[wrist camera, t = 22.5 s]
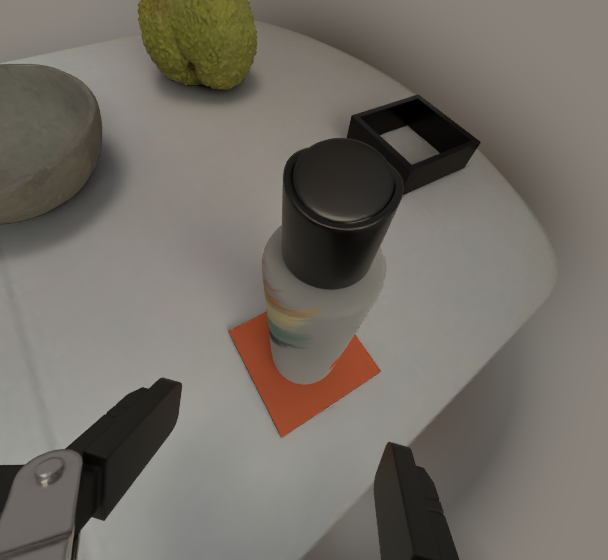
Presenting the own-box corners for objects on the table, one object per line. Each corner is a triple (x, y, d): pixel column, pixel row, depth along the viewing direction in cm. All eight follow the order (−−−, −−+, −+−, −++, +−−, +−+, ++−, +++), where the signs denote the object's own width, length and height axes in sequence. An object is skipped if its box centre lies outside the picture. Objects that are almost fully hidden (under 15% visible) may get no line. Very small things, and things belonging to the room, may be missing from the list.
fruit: (158, 114, 43) (85, -29, 34) (191, 100, 54) (142, -11, 45) (263, 79, 40) (213, -89, 31) (275, 72, 51) (241, -53, 42)
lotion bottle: (340, 330, 28) (438, 130, 10) (329, 393, 25) (441, 265, 7) (281, 316, 28) (278, 100, 10) (264, 377, 25) (222, 218, 8)
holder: (464, 167, 41) (481, 141, 38) (399, 196, 37) (411, 171, 34) (408, 121, 46) (418, 94, 42) (345, 142, 42) (351, 115, 39)
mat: (379, 372, 26) (381, 371, 26) (281, 437, 23) (281, 437, 23) (319, 286, 30) (320, 284, 30) (229, 332, 27) (228, 331, 27)
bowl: (164, 190, 35) (136, 128, 29) (-36, 297, 27) (-144, 246, 20) (82, 110, 42) (43, 44, 35) (-99, 177, 34) (-196, 108, 27)
